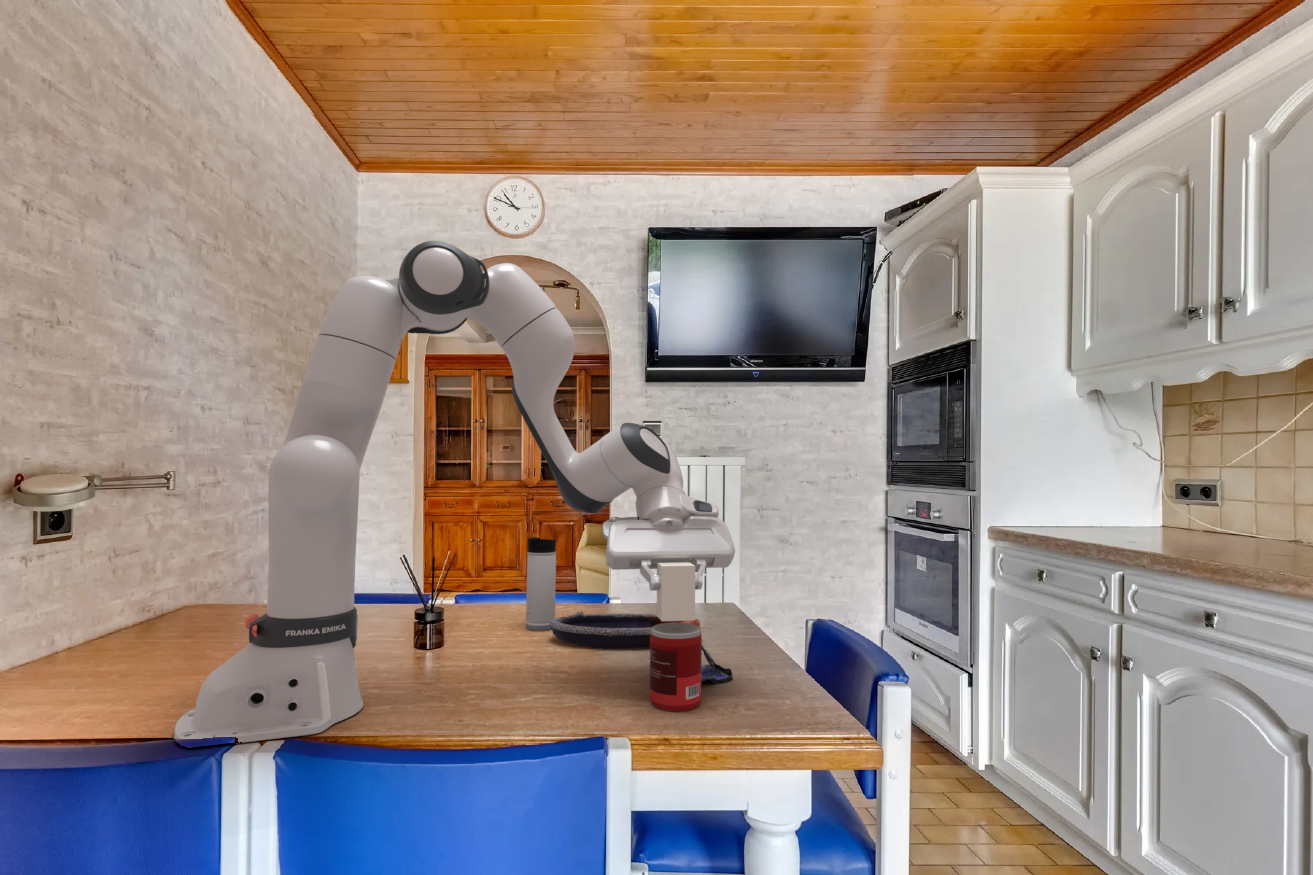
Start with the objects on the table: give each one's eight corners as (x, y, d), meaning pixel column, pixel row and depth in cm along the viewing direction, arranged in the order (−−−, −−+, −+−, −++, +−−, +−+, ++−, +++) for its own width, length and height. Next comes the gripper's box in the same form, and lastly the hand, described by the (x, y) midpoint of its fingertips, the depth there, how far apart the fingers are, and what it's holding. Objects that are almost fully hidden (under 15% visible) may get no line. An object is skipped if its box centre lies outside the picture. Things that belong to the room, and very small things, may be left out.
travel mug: (519, 630, 145) (521, 537, 146) (535, 623, 151) (536, 534, 152) (545, 632, 143) (546, 538, 144) (559, 626, 149) (561, 535, 150)
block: (694, 620, 99) (695, 565, 100) (661, 621, 98) (662, 566, 99) (688, 614, 103) (688, 562, 104) (656, 615, 102) (657, 562, 103)
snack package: (718, 667, 120) (654, 668, 118) (720, 632, 120) (656, 633, 117) (738, 700, 109) (667, 703, 106) (741, 663, 108) (670, 664, 106)
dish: (556, 632, 145) (556, 608, 145) (698, 634, 144) (698, 610, 144) (542, 651, 129) (542, 624, 130) (701, 653, 128) (701, 627, 129)
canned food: (702, 694, 104) (702, 622, 104) (700, 713, 96) (700, 635, 96) (652, 692, 105) (653, 621, 105) (647, 710, 97) (647, 633, 97)
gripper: (603, 504, 107) (609, 576, 96) (726, 504, 110) (745, 573, 100) (599, 530, 111) (605, 601, 101) (719, 529, 115) (736, 598, 104)
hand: (676, 587), depth 100 cm, fingers closed on block, 5 cm apart
